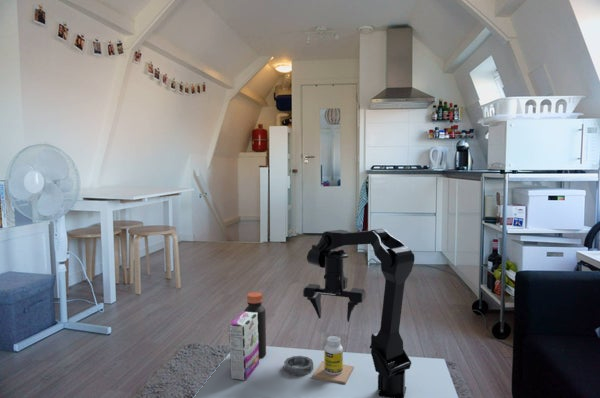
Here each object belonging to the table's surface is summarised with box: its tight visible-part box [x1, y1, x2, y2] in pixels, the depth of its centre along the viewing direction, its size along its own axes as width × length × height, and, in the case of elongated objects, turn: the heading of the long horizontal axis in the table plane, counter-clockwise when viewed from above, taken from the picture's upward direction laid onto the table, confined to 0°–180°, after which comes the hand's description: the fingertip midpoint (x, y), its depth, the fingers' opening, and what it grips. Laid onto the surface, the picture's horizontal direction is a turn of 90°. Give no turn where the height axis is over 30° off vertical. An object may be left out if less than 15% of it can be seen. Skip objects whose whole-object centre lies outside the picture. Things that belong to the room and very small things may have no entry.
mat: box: [311, 360, 355, 385], centre depth 124 cm, size 10×10×1 cm
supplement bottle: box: [324, 335, 344, 375], centre depth 123 cm, size 5×5×10 cm
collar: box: [283, 355, 314, 377], centre depth 126 cm, size 8×8×2 cm
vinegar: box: [243, 291, 267, 360], centre depth 135 cm, size 7×7×20 cm
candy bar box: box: [228, 311, 260, 382], centre depth 124 cm, size 11×5×16 cm, turn 164°
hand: (334, 319), depth 131 cm, fingers open, 9 cm apart
